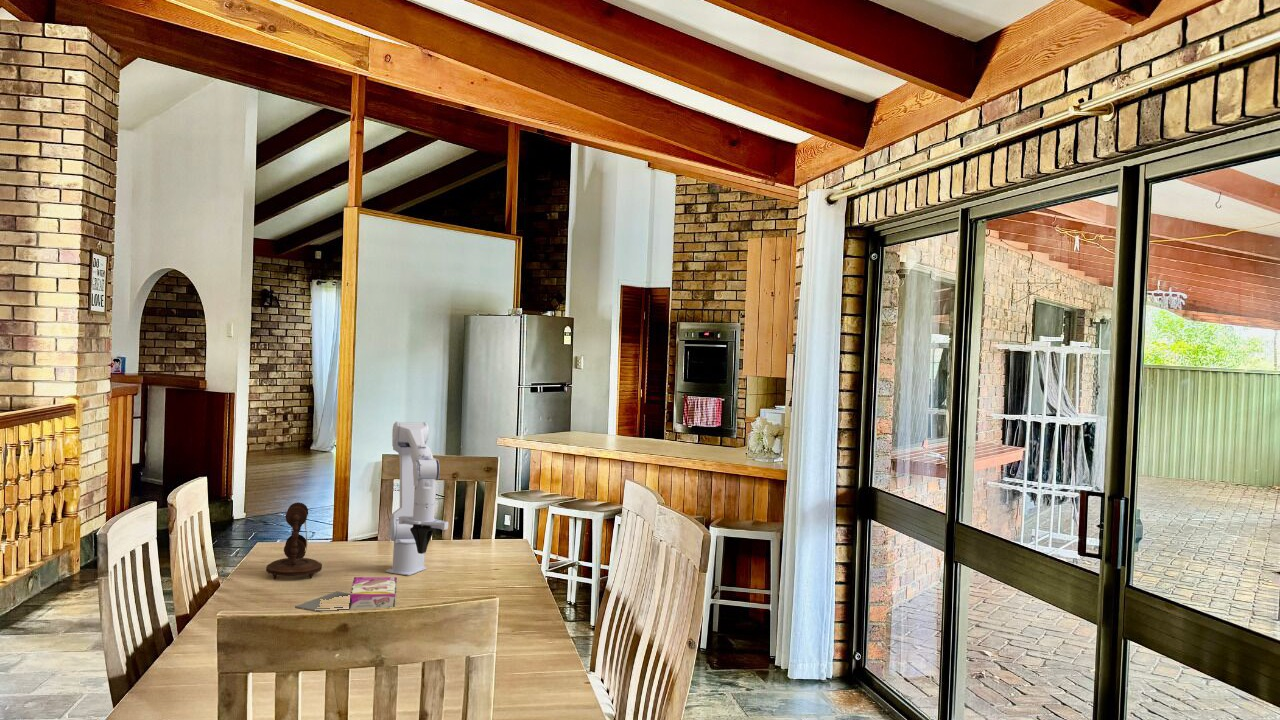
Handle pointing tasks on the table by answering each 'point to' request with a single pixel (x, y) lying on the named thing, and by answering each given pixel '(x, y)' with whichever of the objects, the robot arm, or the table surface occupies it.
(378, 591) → the candy bar box
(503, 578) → the table surface
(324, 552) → the table surface
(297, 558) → the wooden ornament
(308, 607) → the mat
